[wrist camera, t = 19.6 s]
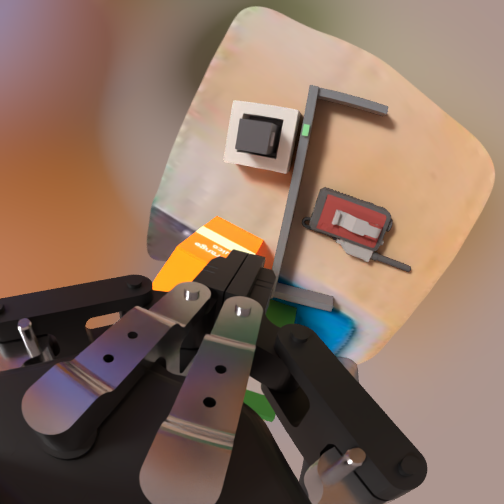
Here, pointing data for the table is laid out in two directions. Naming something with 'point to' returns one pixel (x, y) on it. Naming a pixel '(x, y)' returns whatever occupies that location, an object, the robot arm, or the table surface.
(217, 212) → the table surface
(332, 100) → the cradle
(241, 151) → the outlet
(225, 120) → the table surface
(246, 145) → the plug
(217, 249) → the orange juice
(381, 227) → the walkie-talkie
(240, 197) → the table surface
